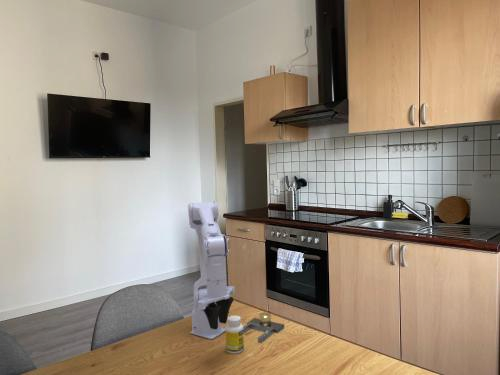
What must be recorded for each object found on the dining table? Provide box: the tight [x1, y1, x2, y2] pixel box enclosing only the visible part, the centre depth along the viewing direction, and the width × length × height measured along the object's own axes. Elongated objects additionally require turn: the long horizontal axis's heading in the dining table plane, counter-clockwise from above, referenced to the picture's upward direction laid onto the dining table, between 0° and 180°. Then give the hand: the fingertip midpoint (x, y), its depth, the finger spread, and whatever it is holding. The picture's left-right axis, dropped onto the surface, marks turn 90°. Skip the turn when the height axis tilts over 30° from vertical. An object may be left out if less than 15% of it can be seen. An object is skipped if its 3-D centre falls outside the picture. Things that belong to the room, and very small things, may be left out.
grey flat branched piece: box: [243, 312, 285, 344], centre depth 123 cm, size 12×14×4 cm
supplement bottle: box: [224, 315, 245, 354], centre depth 111 cm, size 5×5×10 cm
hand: (218, 325), depth 104 cm, fingers open, 4 cm apart
